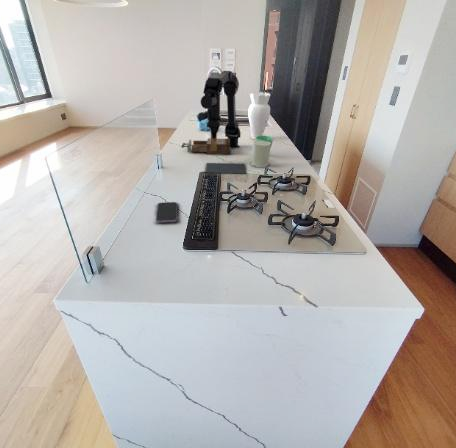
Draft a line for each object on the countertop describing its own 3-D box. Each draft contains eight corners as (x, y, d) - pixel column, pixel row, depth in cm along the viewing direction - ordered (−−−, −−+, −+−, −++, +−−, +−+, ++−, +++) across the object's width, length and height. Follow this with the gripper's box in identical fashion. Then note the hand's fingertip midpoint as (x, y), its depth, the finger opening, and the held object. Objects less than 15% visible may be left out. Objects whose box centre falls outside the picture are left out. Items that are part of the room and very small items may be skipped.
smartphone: (176, 202, 112) (177, 219, 99) (177, 204, 112) (177, 222, 99) (158, 202, 111) (155, 221, 98) (158, 205, 111) (155, 223, 98)
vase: (242, 138, 198) (245, 93, 183) (252, 134, 209) (255, 91, 194) (261, 142, 192) (266, 95, 177) (270, 137, 202) (275, 93, 187)
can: (270, 162, 156) (272, 140, 150) (266, 168, 149) (269, 145, 142) (253, 160, 159) (255, 138, 152) (249, 165, 151) (251, 143, 145)
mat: (244, 164, 153) (244, 163, 153) (245, 174, 141) (245, 173, 141) (207, 163, 153) (207, 163, 153) (205, 173, 141) (205, 172, 141)
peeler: (210, 150, 151) (210, 128, 145) (210, 149, 153) (210, 127, 147) (216, 151, 151) (216, 128, 145) (216, 149, 153) (217, 127, 147)
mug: (271, 158, 163) (273, 140, 158) (254, 157, 164) (256, 139, 159) (270, 150, 176) (272, 134, 170) (254, 149, 176) (255, 133, 171)
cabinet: (206, 154, 167) (206, 143, 164) (207, 148, 178) (207, 138, 175) (229, 154, 167) (230, 144, 164) (229, 148, 178) (229, 138, 175)
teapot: (214, 131, 216) (215, 117, 210) (197, 132, 214) (197, 117, 208) (212, 127, 227) (212, 114, 221) (195, 128, 224) (195, 114, 219)
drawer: (181, 152, 167) (180, 144, 165) (183, 146, 177) (183, 139, 175) (208, 152, 167) (208, 145, 165) (209, 147, 177) (209, 140, 175)
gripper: (199, 102, 149) (200, 133, 157) (196, 108, 133) (196, 142, 141) (220, 103, 148) (220, 133, 156) (219, 109, 132) (219, 142, 140)
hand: (213, 137), depth 149 cm, fingers closed on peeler, 3 cm apart
